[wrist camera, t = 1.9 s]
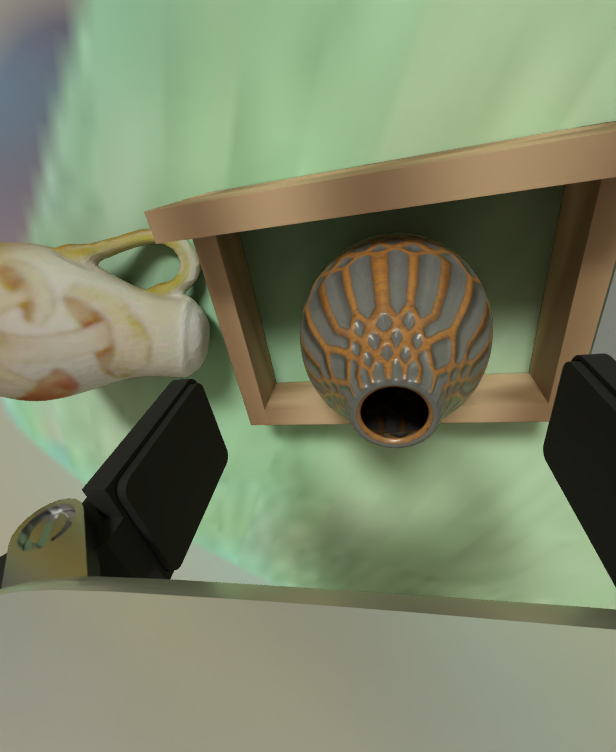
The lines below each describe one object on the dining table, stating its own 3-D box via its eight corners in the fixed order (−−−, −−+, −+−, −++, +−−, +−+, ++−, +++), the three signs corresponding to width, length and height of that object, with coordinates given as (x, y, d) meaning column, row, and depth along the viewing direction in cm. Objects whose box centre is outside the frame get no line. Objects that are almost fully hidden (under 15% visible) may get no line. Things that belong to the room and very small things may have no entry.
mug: (238, 377, 21) (66, 497, 15) (139, 294, 24) (-36, 369, 19) (241, 268, 16) (-28, 394, 10) (111, 179, 19) (-152, 234, 13)
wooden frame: (609, 121, 12) (726, 112, 8) (548, 388, 18) (597, 463, 14) (207, 192, 16) (144, 211, 11) (263, 397, 21) (235, 459, 17)
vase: (335, 369, 19) (307, 506, 12) (298, 241, 16) (229, 324, 9) (472, 349, 17) (536, 497, 10) (463, 196, 14) (549, 257, 7)
